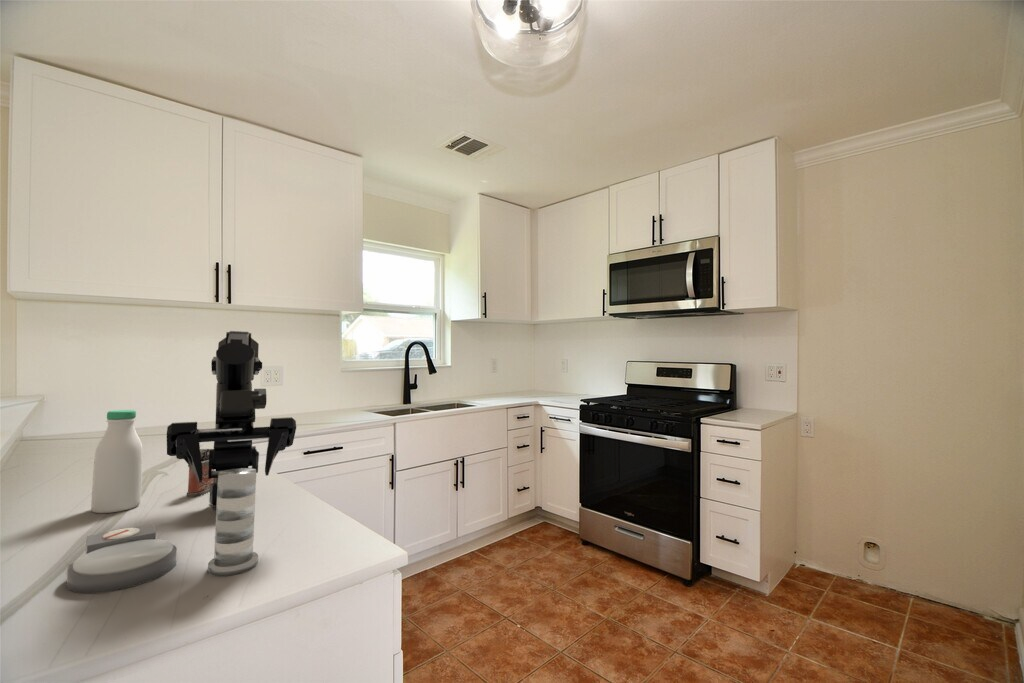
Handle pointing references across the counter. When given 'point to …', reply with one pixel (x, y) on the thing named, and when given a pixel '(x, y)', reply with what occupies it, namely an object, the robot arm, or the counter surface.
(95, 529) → the counter surface
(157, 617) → the counter surface
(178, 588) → the counter surface
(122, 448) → the milk bottle
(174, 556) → the kitchen scale
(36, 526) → the counter surface
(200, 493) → the lighter
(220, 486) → the disc
